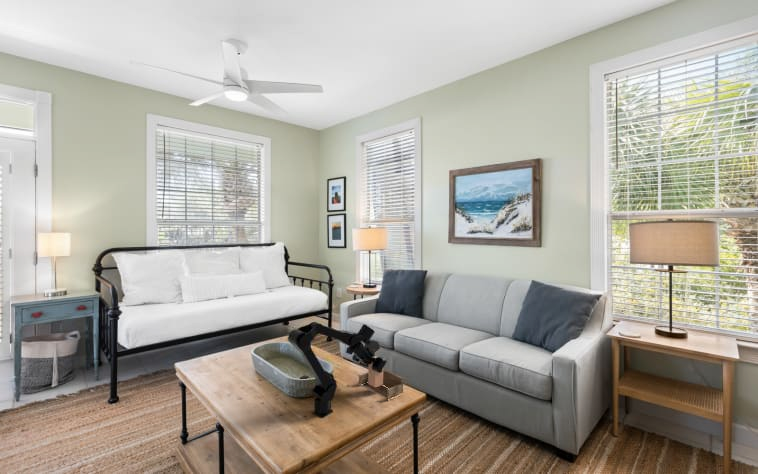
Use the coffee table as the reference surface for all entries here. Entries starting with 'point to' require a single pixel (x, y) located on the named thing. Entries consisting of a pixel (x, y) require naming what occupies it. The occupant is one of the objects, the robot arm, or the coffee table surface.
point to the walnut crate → (387, 383)
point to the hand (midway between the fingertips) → (378, 369)
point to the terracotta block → (374, 377)
